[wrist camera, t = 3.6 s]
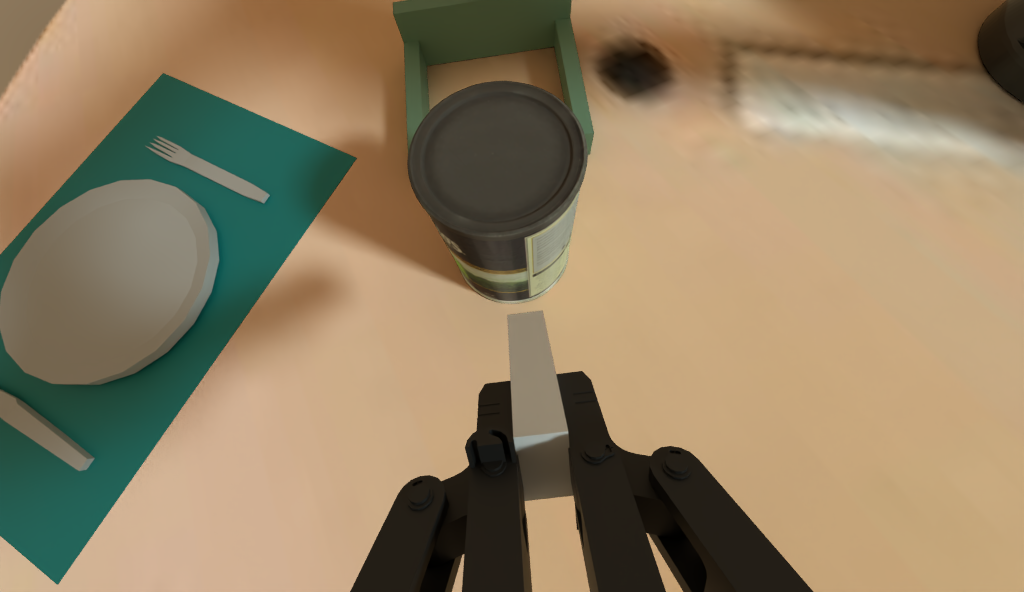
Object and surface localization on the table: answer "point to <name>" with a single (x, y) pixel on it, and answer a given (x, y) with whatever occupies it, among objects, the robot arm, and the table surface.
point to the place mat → (137, 299)
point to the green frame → (486, 44)
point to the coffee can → (501, 184)
